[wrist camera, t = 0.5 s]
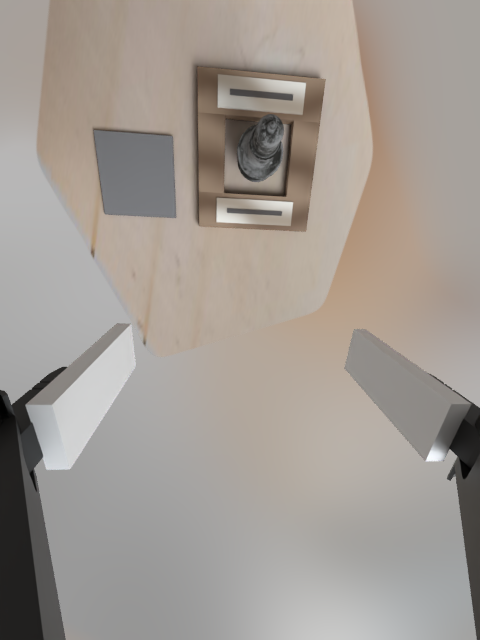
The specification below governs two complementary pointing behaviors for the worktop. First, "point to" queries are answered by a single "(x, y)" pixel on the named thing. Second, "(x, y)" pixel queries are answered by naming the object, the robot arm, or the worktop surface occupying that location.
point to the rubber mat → (136, 173)
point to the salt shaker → (261, 149)
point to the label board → (251, 105)
